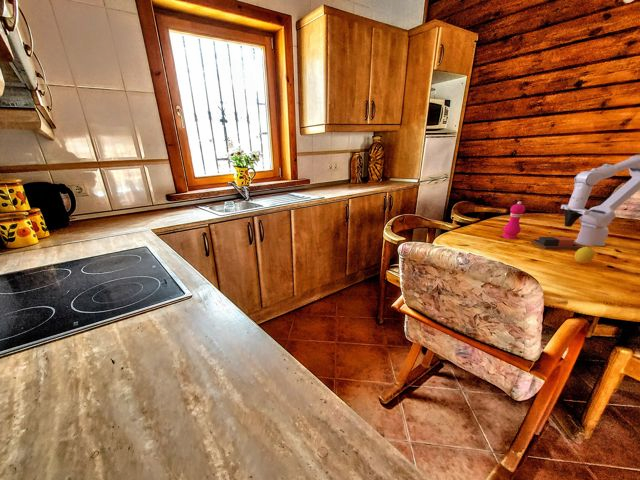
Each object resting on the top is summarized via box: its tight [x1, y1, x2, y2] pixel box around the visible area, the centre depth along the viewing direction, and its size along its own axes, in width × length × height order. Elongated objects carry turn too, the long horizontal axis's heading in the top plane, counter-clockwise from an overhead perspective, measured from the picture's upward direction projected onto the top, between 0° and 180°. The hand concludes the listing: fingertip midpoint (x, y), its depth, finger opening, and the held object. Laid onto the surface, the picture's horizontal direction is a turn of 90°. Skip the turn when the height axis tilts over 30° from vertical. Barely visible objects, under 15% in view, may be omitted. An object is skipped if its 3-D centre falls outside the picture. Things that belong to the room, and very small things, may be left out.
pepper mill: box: [502, 200, 526, 240], centre depth 147 cm, size 7×7×20 cm
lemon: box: [573, 246, 595, 266], centre depth 115 cm, size 6×6×8 cm
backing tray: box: [530, 239, 583, 251], centre depth 136 cm, size 15×10×2 cm
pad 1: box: [537, 236, 559, 246], centre depth 136 cm, size 6×4×4 cm
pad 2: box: [553, 236, 576, 246], centre depth 135 cm, size 6×4×4 cm
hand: (567, 226), depth 135 cm, fingers closed
